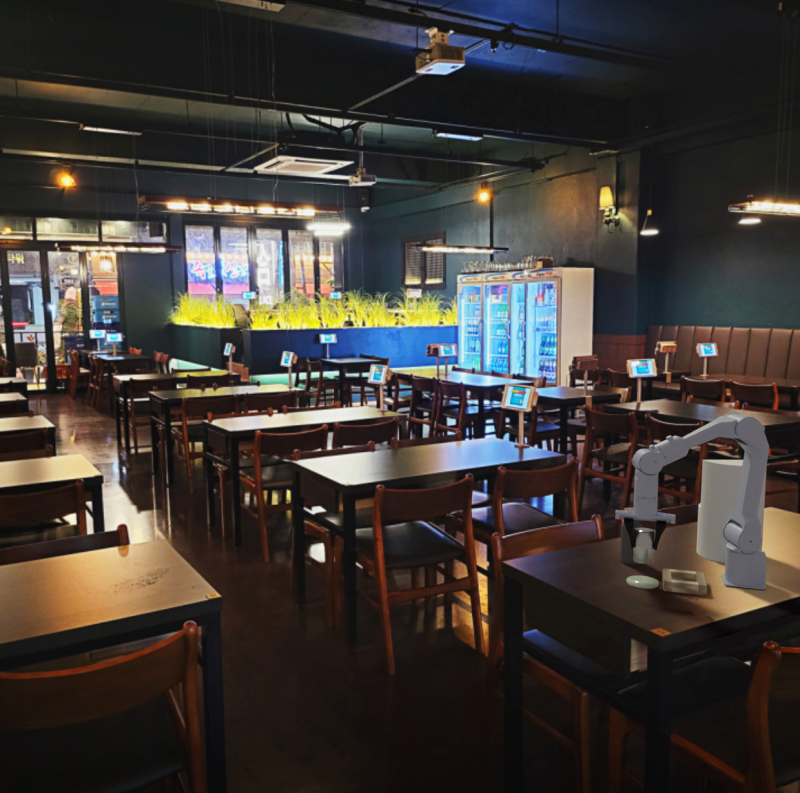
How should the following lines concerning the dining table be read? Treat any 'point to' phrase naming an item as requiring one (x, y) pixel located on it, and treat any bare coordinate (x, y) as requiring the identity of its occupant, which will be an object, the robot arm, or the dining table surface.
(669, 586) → the collar
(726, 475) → the cylinder
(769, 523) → the dining table surface
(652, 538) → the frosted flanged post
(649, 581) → the coaster
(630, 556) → the bottle
